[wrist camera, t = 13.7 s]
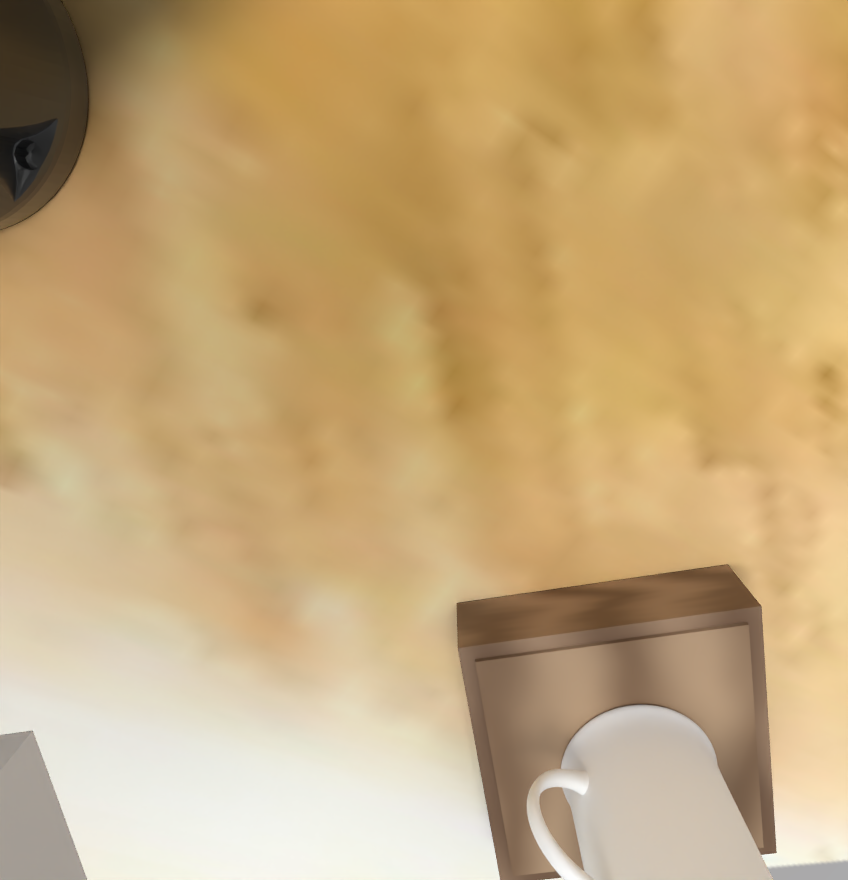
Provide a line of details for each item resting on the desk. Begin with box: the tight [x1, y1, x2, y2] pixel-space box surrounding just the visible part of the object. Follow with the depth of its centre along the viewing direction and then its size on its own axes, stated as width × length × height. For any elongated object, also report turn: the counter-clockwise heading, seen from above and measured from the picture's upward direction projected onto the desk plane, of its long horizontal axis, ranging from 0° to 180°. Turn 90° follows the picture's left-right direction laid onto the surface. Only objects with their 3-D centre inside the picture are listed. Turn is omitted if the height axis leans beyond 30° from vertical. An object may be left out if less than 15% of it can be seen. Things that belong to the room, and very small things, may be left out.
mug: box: [527, 705, 773, 880], centre depth 36 cm, size 12×8×12 cm
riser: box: [457, 565, 776, 880], centre depth 45 cm, size 16×16×5 cm
